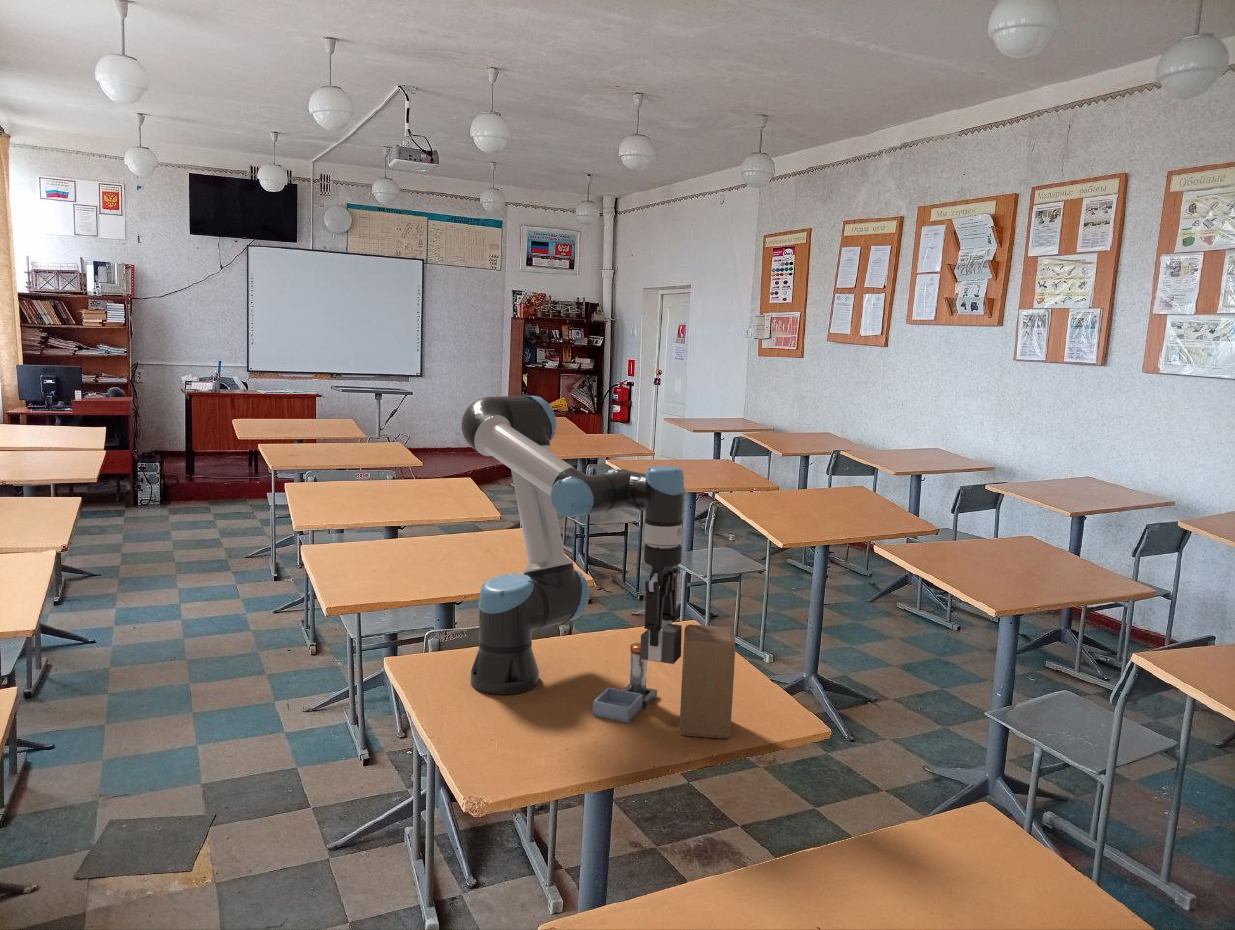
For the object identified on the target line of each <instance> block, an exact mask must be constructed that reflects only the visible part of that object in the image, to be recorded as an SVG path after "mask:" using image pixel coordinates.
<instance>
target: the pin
mask: <svg viewBox="0 0 1235 930" xmlns="http://www.w3.org/2000/svg"><path fill="white" fill-rule="evenodd" d="M629 651H630V666H629V684H630V686H629V692H634V693H639V694H643V699H644V698H645V697H646V688H647V677H648V675H647V674H648V660H643V659H640V656H641V642H634V643H631V644H630V645H629Z"/></svg>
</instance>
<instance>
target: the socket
mask: <svg viewBox="0 0 1235 930" xmlns="http://www.w3.org/2000/svg"><path fill="white" fill-rule="evenodd" d="M629 686H630V683H629V684H627V685H626V686H625V688H623V690H624V691H629ZM657 697H658V689H655V688H650V687H646V697H645V698H644V699H643V707H642V709H644V708H645V709H647V708H648V707H649V706H650V705H651V704H652V703H653V701H654V700H656V698H657Z"/></svg>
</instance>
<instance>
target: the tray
mask: <svg viewBox="0 0 1235 930" xmlns="http://www.w3.org/2000/svg"><path fill="white" fill-rule="evenodd" d="M642 709H643V694H639V693H634V692H629V691H624V689H618V688H613V687H609V686H608V687H607V688H605V690H603V691H602V692H601V693H600V694H599V695H598V696H597V697H596V698H594V699H593V701H592V716H594V717H599V718H604V719H609V720H612V721H619V722H623V723H626V724H629V723H630V722H631V721H632V720H633V719H634V718H635V717H636V715H638V713H639V712H640V711H641V710H642Z"/></svg>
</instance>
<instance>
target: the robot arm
mask: <svg viewBox="0 0 1235 930" xmlns="http://www.w3.org/2000/svg"><path fill="white" fill-rule="evenodd" d="M555 415H556V414H555V412H554V410H553V407H552V406H551V405H550V403H549V402H548V401H546V400H544V398H543V397H541V396H536V395H527V394H521V395H505V396H504V395H503V396H484V397H481V398H478V399H476V400H474V401H472V403H471V404H469V405H468V406H467V408H466V410H465V412H464V413H463V415H462V419H461V425H460V426H461V432H462V436H463V438H464V440H465V441H466V443H467V444H468V445H469V446H470V448H472V449H473V450H475V451H476V452H477V453H479V454H480V455H482V456H484V457H493V458H494V459H496V461H497V460H498V461H499V462H500V463H501V464H503V465H505V466H506V467H507V468H509V469H510V471H511V476H512V482H513V487H514V493H515V498H516V504H517V507H518V513H519V519H520V523H521V530H522V535H523V540H524V546H525V551H526V552H525V553H526V555H527V561H528V563H527V565H526V566H525V568H524V570H523V573H510V574H509V573H505V574H500V575H496V576H494V577H493V576H492V577H491V578H489V579H487V580H486V581H485V582H484V583H483V584H482V585H481V587H480V589H479V590H480V591H479V599H478V608H479V613H478V614H479V615H478V616H479V617H478V650H477V653H476V657H475V659H474V661H473V665H472V667H471V670H470V685H471V686H472V687H473V688H474V689H476V690H478V691H480V692H482V693H487V694H491V695H504V696H505V695H514V694H521V693H524V692H527V691H531V690H532V689H534V688H535V687H536V686H537V685H538V684H539V681H540V680H539V679H540V677H539V676H540V670H539V668H538V667H539V666H538V664H537V660H536V657H535V655H534V654H535V653H534V651H533V645H532V643H533V641H532V640H533V632H534V631H538V630H541V629H545V628H549V627H554V626H557V625H562V624H567V623H570V621H571V622H572V621H573V620H577V619H578V618H579V617H581V616H582V615H583V614H584V613H585V609H586V608H587V606H588V603H589V599H590V589H589V585H588V584H589V583H588V581H587V579H586V577H585V576H584V575H583V573H582V571H580V570H577V569H575V568H574V562H573V560H571V559H569V558H568V557H567V556H566V554H565V550H564V549H565V548H564V545H563V540H562V538H563V537H562V534H561V528H560V524H559V519H558V515H559V516H562V517H565V518H566V517H567V518H569V517H570V518H571V517H576V518H578V517H583V516H586V515H592V514H598V513H603V512H609V511H610V512H611V511H616V510H624V509H633V510H638V511H642V512H644V535H643V536H644V538H643V541H644V543H645V544H644V546H643V547H644V549H643V550H644V551H643V562H644V563H645V564H647V565H649V566H650V567H651V571H650V574H649V580H645V583H644V584H645V585H644V587H645V606H644V607H645V611H644V626H643V627H644V629H645V630H648V629H649V644H648V660H647V661H650V660H652V661H651V662H656V661H658V663H662V662H661V661H662V644H663V629H662V628H663V627H664V626H666V625H667V624H673V621H677V615H676V614H677V593H678V592H677V591H678V590H677V589H678V586H677V585H678V575H679V568H678V567H677V566H679V565H681V563H682V557H683V556H682V553H683V552H682V551H683V547H682V545H681V543H682V542H683V535H684V534H685V529H683V522H684V521H683V520H684V519H683V513H684V500H685V499H684V497H685V496H684V495H685V490H686V489H685V481H684V480H685V478H684V471H683V470H682V469H681V468H680V467H677V466H672V465H668V466H667V465H652V466H649V467H647V469H646V473H643V472H638V471H631V470H628V469H625V468H622V469H617V468H612V469H609V470H608V471H607V472H605V473H603V474H599V473H598V474H592V475H588V474H586V473H584V472H582V471H580V470H579V469H577V468H575V467H574V466H572V465H571V464H569V463H568V462H567V461H565V460H563V459H561V458H560V457H558V456H556V455H555V454H554V453H552V452H550V449H551V441H552V440H553V439H554V438H555V436H556V432H555V431H557V419H556V416H555Z"/></svg>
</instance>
